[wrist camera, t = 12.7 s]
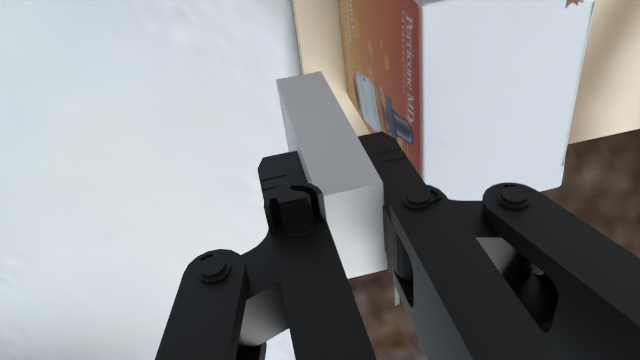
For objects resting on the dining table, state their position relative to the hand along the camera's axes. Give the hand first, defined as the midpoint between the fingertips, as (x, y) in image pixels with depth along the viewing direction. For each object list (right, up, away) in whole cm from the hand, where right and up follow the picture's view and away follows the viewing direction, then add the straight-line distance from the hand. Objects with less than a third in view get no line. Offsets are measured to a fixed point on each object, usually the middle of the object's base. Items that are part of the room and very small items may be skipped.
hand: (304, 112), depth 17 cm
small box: (+4, +6, +7) cm, 10 cm away
